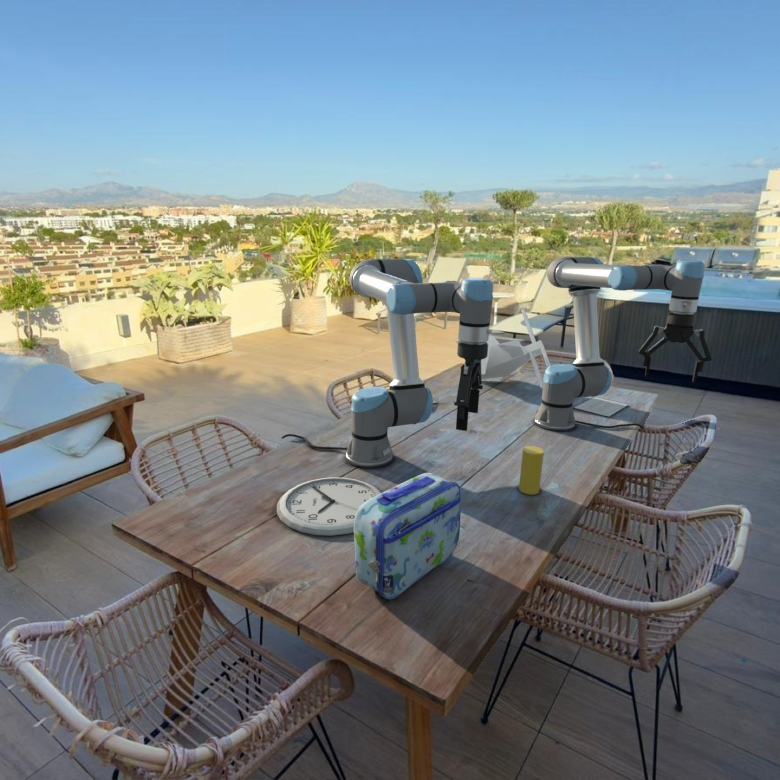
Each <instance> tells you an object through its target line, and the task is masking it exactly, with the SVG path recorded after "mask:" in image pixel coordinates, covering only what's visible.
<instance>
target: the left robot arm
mask: <svg viewBox="0 0 780 780" xmlns="http://www.w3.org/2000/svg"><path fill="white" fill-rule="evenodd" d="M423 279H424V278H423V274H422V271H421V268H420V266H419V264H418V263H417V262H416V261H415V260H414V259H411V258H401V257H399V258H369V259H365V260H362V261H360V262H358V263H357V264H355V266H353V268H352V269H351V271H350V274H349V277H348V280H349V286H350V288H351V290H352V291H353V292H354V293H356V294H357V295H359V296H361V297H364V298H371V297H372V298H373V299H376V300H378V301H380V302H381V303H382V304H383V305H384V306H385V307H386V311H387V312H386V313H387V314H386V315H387V323H388V335H389V346H390V347H389V348H390V356H391V358H390V359H391V368H392V379H393V380H392V381H391V382H390V383H389V384H388V386H389V387H388V388H389V390H388V389H387V388H386V387H383V386H367V387H364V388H361V389H358V390H356V391H355V392H354V393H353V395H352V396H351V405H350V411H351V436H350V439H349V442H348V443H349V444H348V446H347V447H341V446H340V447H339V446H338V447H337V446H317V445H313V444H310V442H309V440H308V439H307V437H304V436H302V435H298V434H294V433H288V434H284V435H283V436H281V439H282V440H283V439H285V438H287V437H294V438H298V439H301V440H303V441H305V443H306V445H307V446H308V447H310V448H313V449H316V450H339V451H346V453H345V458H346V459H345V460H346V461H347V462H348V464H350V465H352V466H355V467H358V468H364V469H375V468H376V469H377V468H381V467H384V466H387V465H389V464H390V463H392V461H393V457H394V455H393V449H392V447H391V443H390V440H389V436H388V429H389V428H393V427H399V426H401V427H402V426H407V425H408V426H409V425H417V424H420V423H425V422H427V421H428V419H429V418H430V417H431V415H432V412H433V408H434V403H433V400H434V398H433V394H432V391H431V389H430V388H428V387H427V386H425V385H426V384H425V381H424V380H423V379H421V378H420V372H419V371H420V368H419V359H418V347H417V336H416V335H417V334H416V325H415V323H416V322H415V314H432V313H433V314H434V313H435V314H436V313H456V314H459V322H458V332H457V333H458V334H457V337H458V338H457V339H458V340H459V341H458V342H457V357H458V358H461V359H464V363H462V365H461V366H460V374H459V375H460V376H459V380H458V381H459V382H458V387H457V392H456V400H455V401H454V403H453V405H454V406H456V408H457V409H456V419H455V420H456V423H455V430H457V431H464V432H467V431H468V424H469V423H468V422H469V413H473V414H478V413H479V402H480V392H481V390H483V388H484V385H482V384H483V382H482V380H483V379H481V359H485V358H486V357H487V354H488V343H487V341H488V339H489V336H490V335H491V334H492V332H493V331H492V329H490V326H491V325H490V324H491V317H492V307H493V299H494V294H493V291H494V290H493V289H494V284H493V281H492V280H491V279H489V278H482V277H465V278H463V279H462V282H459V281H457V280H443V281H441V282H423V281H424V280H423Z"/></svg>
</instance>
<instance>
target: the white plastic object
mask: <svg viewBox="0 0 780 780" xmlns="http://www.w3.org/2000/svg"><path fill="white" fill-rule="evenodd" d="M520 311H521V315H522V317H523V321H524V323H525V326H526V329H527V332H528V336H529V338H530V341H531V343H529V344H527V345H525V346H524V345H522V343H521V342H520V340H519V339H514V340H510V341H505V342H502V343H501V342H499V341H498V340H497V338H495V336H494V335H489V339H488V341H487V343H488V354H487V357H486V358H485V359H481V380H488V379H498V378H499V379H500V378H501V379H503V380H504V379H506V378H508V377H511V376H512V373H513V372H515V371H516V370H518V369H520V368H521V367H522V366H524V365H525V364H527V363H528V362H529V361H531V364H532V367H533V369H534V373H535V375H536V379H537V382H538V386H539V387H540V389H541V390H542V391H543V383H544V380H543V377H542V374H541V371H540V368H539V365H538V362H537V359H536V357H538V356H541V355H542V357H543V361H544V363H545V367H546V369H547V368H548V367H549V366H552V365H551V363H550V360H549V356H548V353H547V351H546V348H545V345H544V344H543V341H542V340H541V339H540V340H537V339H536V338H535V335H534V332H533V328H532V325H531V323H530V320H529V317H528V314H527V312H526V310H525V308H521V309H520ZM536 340H537V341H536Z"/></svg>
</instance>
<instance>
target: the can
mask: <svg viewBox="0 0 780 780" xmlns="http://www.w3.org/2000/svg"><path fill="white" fill-rule="evenodd" d="M544 453H545V451H544V449H543V448H541V447H539V446H534V445H527V446H523V448H522V453H521V465H520V472H519V473H520V475H519V483H518V490H519V491H520V492H521V493H523V494H525V495H531V496H533V495H537V494H539V493H540V489H541V480H542V479H541V478H542V471H543V464H544V463H543V461H544Z"/></svg>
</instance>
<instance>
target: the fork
mask: <svg viewBox="0 0 780 780" xmlns="http://www.w3.org/2000/svg"><path fill="white" fill-rule="evenodd" d="M432 397H433V404H437V403H438V401H439V396H435V395H432Z"/></svg>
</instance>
